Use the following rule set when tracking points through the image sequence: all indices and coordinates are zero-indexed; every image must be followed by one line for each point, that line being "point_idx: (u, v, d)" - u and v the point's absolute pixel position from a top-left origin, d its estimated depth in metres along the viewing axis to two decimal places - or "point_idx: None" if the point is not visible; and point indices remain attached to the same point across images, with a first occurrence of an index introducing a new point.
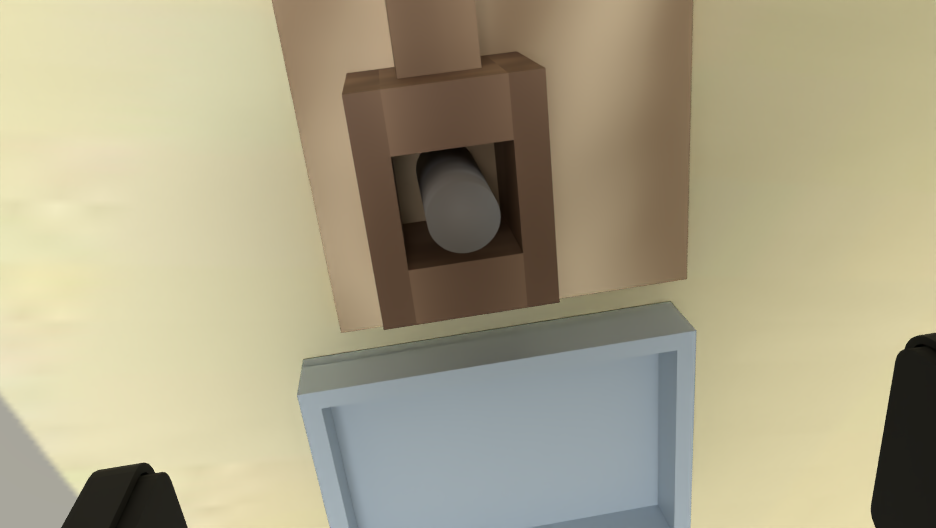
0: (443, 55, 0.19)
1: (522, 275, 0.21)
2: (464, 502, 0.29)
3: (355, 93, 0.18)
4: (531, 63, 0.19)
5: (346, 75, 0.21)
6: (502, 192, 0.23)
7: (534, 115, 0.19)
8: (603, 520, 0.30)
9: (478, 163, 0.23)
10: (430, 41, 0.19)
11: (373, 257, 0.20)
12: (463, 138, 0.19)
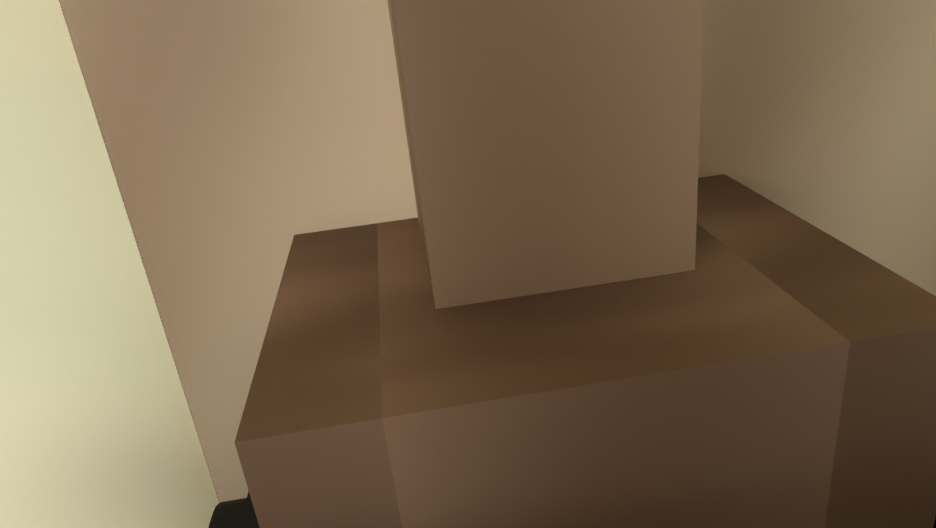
0: (581, 240, 0.06)
1: None
2: None
3: (288, 433, 0.05)
4: (864, 266, 0.06)
5: (290, 251, 0.08)
6: None
7: (904, 461, 0.06)
8: None
9: None
10: (546, 199, 0.06)
11: None
12: None
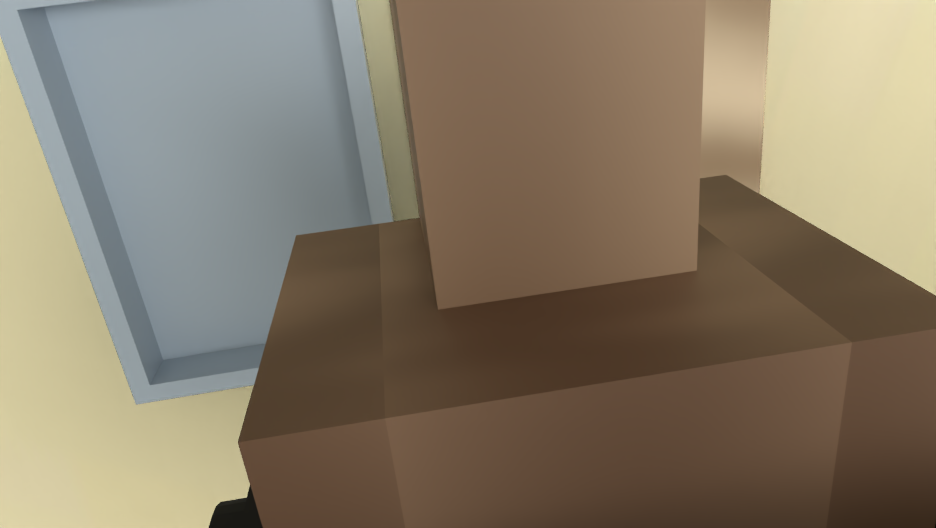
0: (585, 240, 0.06)
1: None
2: (152, 140, 0.24)
3: (292, 433, 0.05)
4: (866, 267, 0.06)
5: (292, 251, 0.08)
6: None
7: (906, 461, 0.06)
8: (140, 305, 0.26)
9: None
10: (550, 200, 0.06)
11: None
12: None
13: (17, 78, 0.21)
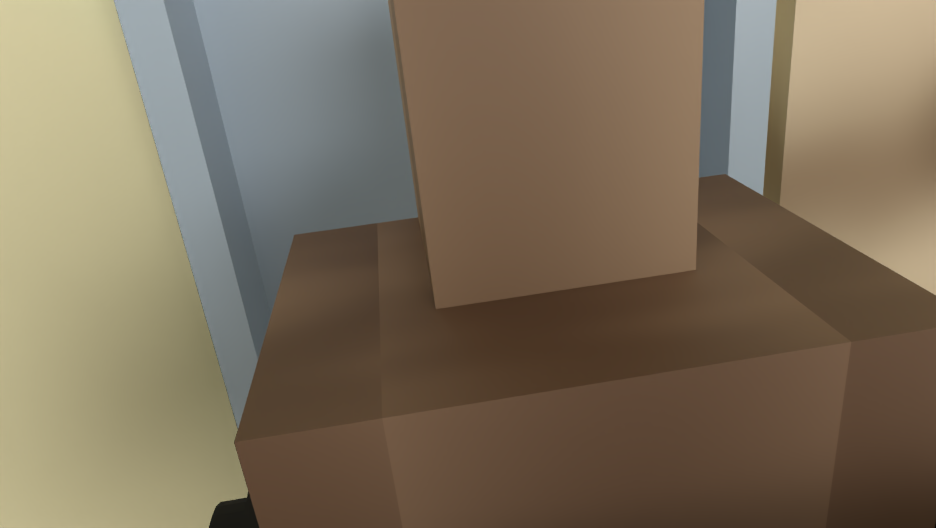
0: (583, 238, 0.06)
1: None
2: (337, 139, 0.13)
3: (288, 434, 0.05)
4: (866, 266, 0.06)
5: (290, 251, 0.08)
6: None
7: (906, 461, 0.06)
8: None
9: None
10: (548, 199, 0.06)
11: None
12: None
13: (120, 13, 0.10)
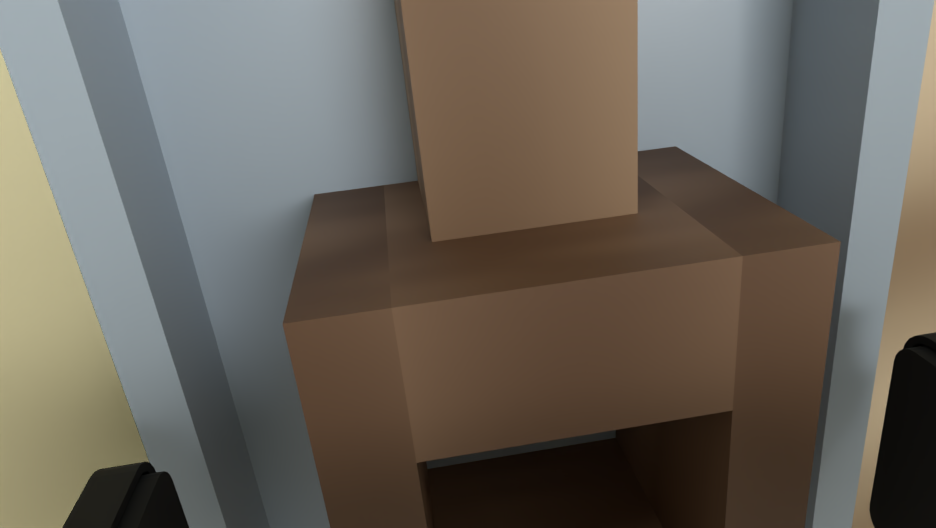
0: (548, 187, 0.08)
1: None
2: None
3: (322, 318, 0.06)
4: (768, 208, 0.08)
5: (312, 205, 0.09)
6: (633, 426, 0.11)
7: (792, 354, 0.07)
8: None
9: None
10: (519, 153, 0.08)
11: None
12: (607, 413, 0.07)
13: None
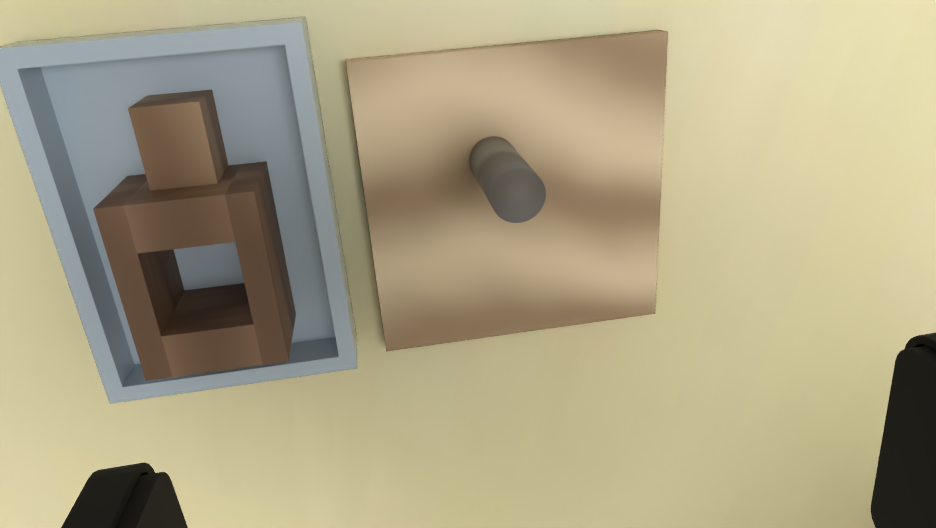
0: (185, 174, 0.25)
1: (255, 340, 0.27)
2: (130, 175, 0.27)
3: (104, 208, 0.24)
4: (253, 182, 0.25)
5: None
6: None
7: (249, 224, 0.25)
8: (115, 316, 0.29)
9: None
10: (174, 164, 0.25)
11: (131, 326, 0.26)
12: (194, 240, 0.25)
13: (15, 125, 0.24)
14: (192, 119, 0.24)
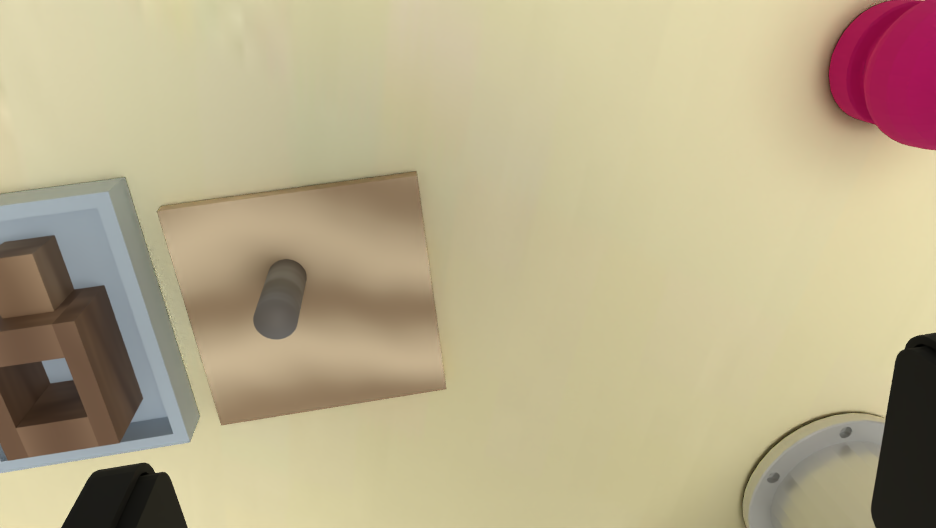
0: (28, 305, 0.33)
1: (90, 429, 0.34)
2: None
3: None
4: (79, 311, 0.33)
5: None
6: None
7: (74, 345, 0.33)
8: None
9: None
10: (18, 299, 0.33)
11: None
12: (32, 358, 0.32)
13: None
14: (29, 267, 0.32)
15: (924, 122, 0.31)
